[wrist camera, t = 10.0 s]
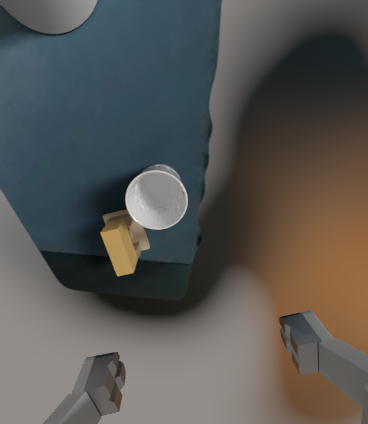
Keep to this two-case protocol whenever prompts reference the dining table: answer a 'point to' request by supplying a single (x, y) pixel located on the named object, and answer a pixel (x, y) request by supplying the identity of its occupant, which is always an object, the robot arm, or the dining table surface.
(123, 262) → the tan rectangular block
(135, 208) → the white cup
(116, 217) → the display stand
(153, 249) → the dining table surface
